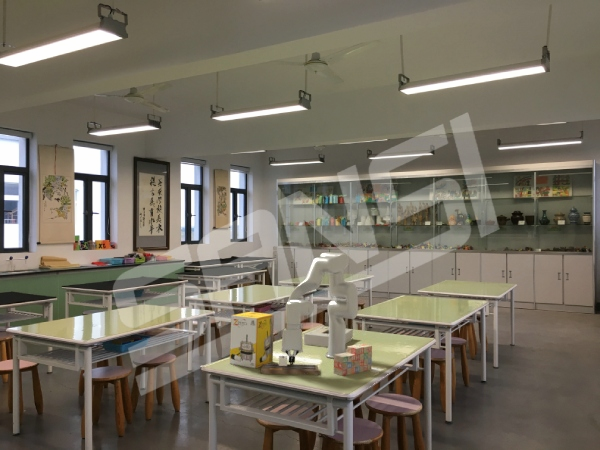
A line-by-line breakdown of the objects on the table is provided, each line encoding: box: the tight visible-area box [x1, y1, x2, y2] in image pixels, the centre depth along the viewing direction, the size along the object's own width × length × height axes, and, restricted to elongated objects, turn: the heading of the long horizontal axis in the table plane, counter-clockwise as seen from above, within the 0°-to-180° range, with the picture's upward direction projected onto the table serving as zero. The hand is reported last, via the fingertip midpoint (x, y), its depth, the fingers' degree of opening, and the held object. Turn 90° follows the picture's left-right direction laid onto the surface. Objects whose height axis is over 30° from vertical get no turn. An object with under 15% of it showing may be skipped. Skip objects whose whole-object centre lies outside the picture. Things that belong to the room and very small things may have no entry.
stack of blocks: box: [333, 343, 373, 377], centre depth 242 cm, size 21×6×12 cm, turn 131°
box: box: [303, 326, 354, 348], centre depth 312 cm, size 23×8×32 cm
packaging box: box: [229, 311, 275, 369], centre depth 254 cm, size 16×16×25 cm
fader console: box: [260, 363, 320, 376], centre depth 238 cm, size 28×10×3 cm, turn 92°
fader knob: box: [278, 355, 288, 367], centre depth 238 cm, size 4×5×5 cm
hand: (291, 364), depth 239 cm, fingers closed
